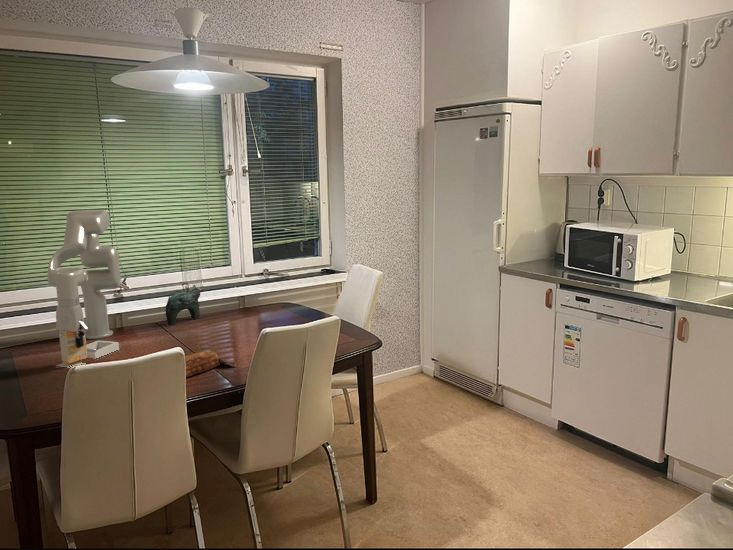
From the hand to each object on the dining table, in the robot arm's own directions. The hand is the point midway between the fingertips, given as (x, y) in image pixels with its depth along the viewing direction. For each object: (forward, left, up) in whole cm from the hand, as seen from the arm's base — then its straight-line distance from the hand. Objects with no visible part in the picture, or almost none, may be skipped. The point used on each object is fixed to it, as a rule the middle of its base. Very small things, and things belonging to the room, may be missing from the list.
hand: (73, 345), depth 224 cm
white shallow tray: (-1, +13, -8) cm, 15 cm away
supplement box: (0, 0, -6) cm, 6 cm away
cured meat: (+53, +8, -8) cm, 55 cm away
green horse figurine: (+4, +69, -8) cm, 69 cm away
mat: (0, 0, -8) cm, 8 cm away
